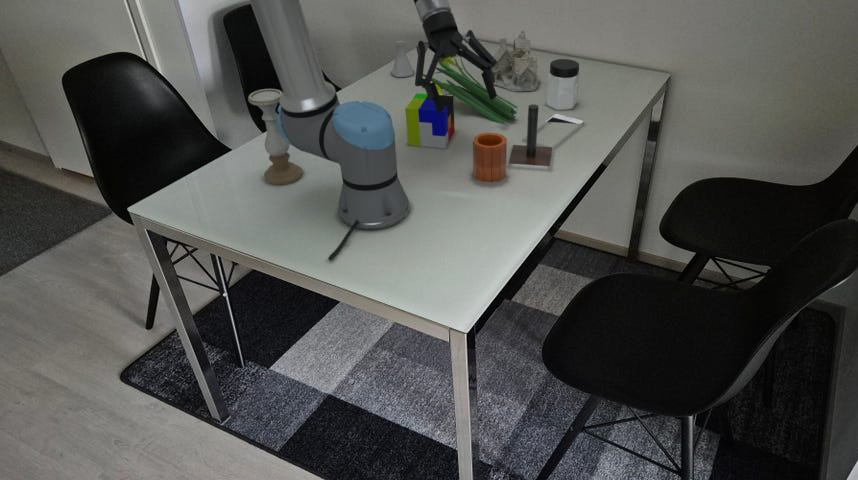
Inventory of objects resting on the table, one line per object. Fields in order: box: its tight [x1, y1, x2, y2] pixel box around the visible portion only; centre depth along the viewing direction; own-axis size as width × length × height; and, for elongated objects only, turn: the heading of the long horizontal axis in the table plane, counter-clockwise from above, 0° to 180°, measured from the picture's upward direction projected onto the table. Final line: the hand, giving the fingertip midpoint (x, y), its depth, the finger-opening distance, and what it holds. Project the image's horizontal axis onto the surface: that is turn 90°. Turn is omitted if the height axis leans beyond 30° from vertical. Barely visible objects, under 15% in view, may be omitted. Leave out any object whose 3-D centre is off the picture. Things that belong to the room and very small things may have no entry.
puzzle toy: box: [405, 92, 455, 149], centre depth 163 cm, size 10×10×10 cm
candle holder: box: [247, 88, 303, 186], centre depth 145 cm, size 9×9×20 cm
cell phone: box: [544, 113, 585, 125], centre depth 169 cm, size 9×18×1 cm, turn 146°
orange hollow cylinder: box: [472, 132, 508, 183], centre depth 147 cm, size 8×8×10 cm
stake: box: [508, 103, 553, 167], centre depth 153 cm, size 10×10×14 cm
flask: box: [391, 40, 414, 78], centre depth 200 cm, size 7×7×10 cm
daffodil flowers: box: [421, 55, 518, 126], centre depth 176 cm, size 17×15×35 cm
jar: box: [546, 58, 580, 111], centre depth 180 cm, size 9×8×12 cm
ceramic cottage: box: [491, 29, 540, 93], centre depth 193 cm, size 16×16×15 cm
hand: (467, 104), depth 145 cm, fingers open, 13 cm apart
